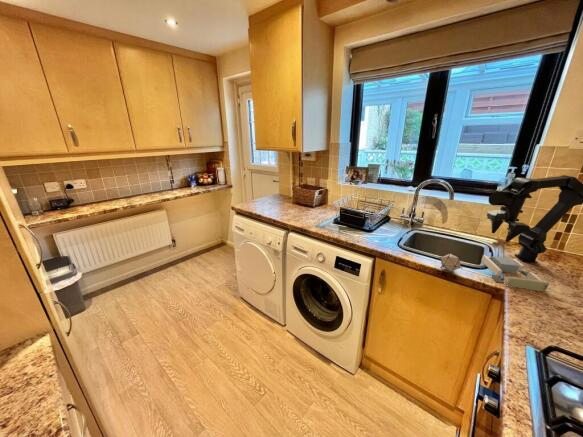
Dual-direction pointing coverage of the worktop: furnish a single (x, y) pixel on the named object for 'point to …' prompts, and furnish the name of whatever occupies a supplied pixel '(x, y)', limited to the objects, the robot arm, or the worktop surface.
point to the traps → (501, 280)
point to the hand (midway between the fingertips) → (499, 237)
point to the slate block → (505, 264)
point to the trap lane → (498, 271)
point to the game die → (450, 262)
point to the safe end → (527, 283)
